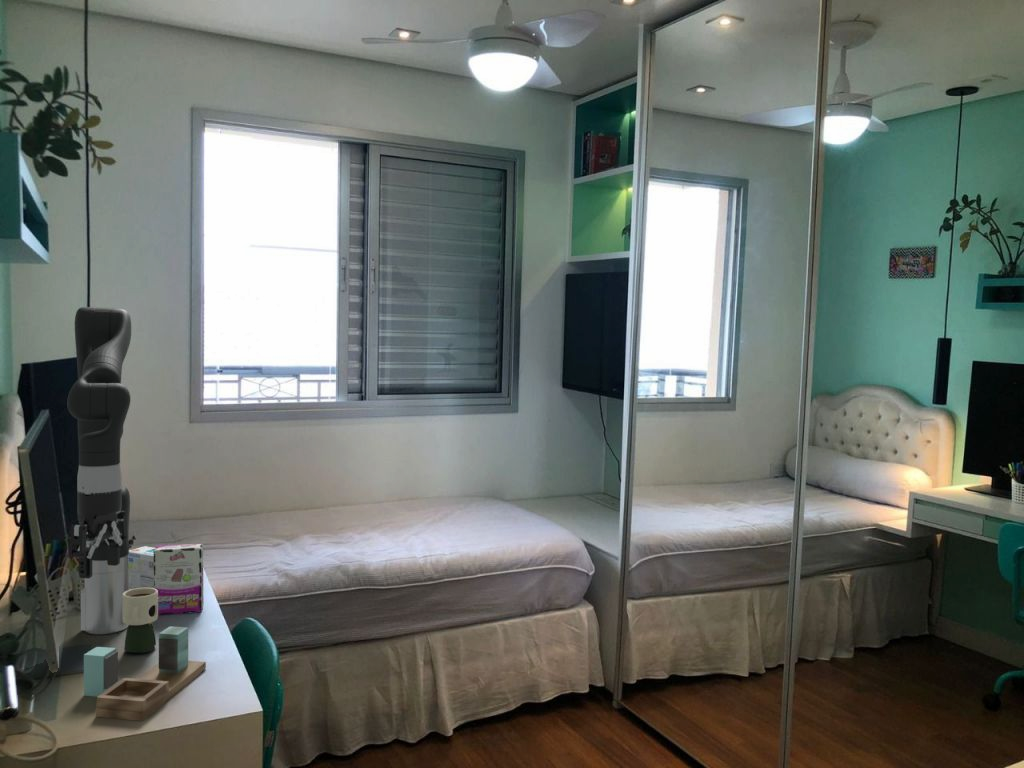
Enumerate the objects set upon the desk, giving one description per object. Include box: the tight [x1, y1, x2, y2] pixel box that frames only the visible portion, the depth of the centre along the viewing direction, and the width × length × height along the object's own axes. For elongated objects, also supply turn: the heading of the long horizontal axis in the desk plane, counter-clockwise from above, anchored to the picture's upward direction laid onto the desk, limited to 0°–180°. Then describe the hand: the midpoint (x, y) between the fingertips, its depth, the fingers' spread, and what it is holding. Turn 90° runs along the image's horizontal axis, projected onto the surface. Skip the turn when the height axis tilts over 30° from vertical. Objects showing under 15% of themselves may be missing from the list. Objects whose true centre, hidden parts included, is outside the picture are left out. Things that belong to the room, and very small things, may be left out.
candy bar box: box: [154, 543, 205, 616], centre depth 202 cm, size 11×5×16 cm, turn 105°
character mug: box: [122, 588, 159, 654], centre depth 177 cm, size 11×7×13 cm, turn 13°
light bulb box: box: [129, 545, 156, 589], centre depth 218 cm, size 11×7×11 cm, turn 68°
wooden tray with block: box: [95, 625, 207, 722], centre depth 157 cm, size 9×23×10 cm, turn 173°
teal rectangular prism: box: [83, 646, 119, 698], centre depth 156 cm, size 4×4×8 cm
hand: (99, 571), depth 155 cm, fingers open, 8 cm apart
